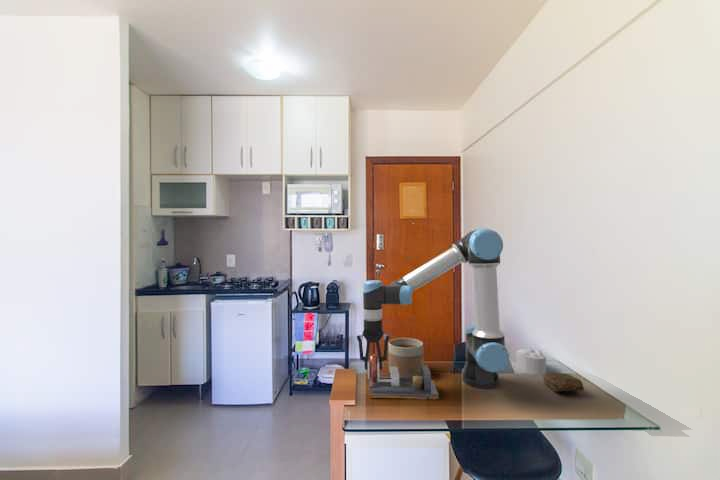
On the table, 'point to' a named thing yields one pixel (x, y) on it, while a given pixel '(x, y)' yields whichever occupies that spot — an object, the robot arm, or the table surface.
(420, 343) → the planter
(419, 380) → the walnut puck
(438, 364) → the table surface
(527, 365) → the lumpy-topped squat cylinder
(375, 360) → the press handle
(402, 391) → the press bed
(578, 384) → the stone
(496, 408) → the table surface
